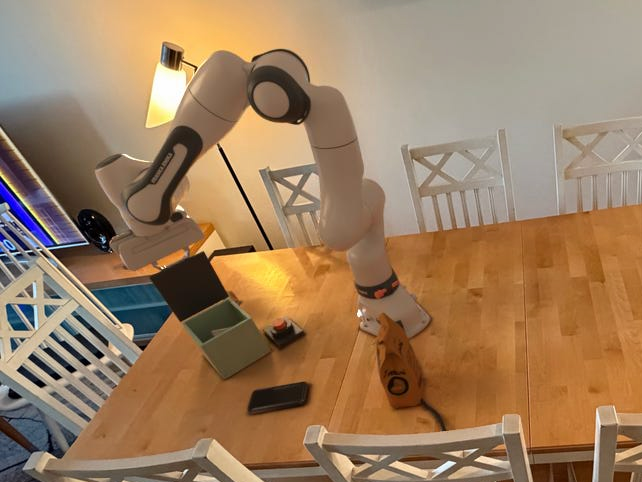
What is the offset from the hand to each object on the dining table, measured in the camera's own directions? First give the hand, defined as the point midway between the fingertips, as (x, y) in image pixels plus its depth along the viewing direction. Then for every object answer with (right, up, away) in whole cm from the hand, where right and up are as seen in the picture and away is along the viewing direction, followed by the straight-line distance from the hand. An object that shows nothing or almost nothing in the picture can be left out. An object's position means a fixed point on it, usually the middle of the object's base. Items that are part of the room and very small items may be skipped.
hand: (178, 267), depth 136 cm
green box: (+9, -23, +14) cm, 28 cm away
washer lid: (+2, -5, +2) cm, 6 cm away
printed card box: (+11, -24, +12) cm, 29 cm away
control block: (+22, -17, +17) cm, 33 cm away
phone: (+29, -35, -3) cm, 46 cm away
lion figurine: (+2, -10, +29) cm, 31 cm away
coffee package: (+63, -33, -7) cm, 71 cm away
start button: (+22, -15, +15) cm, 31 cm away
